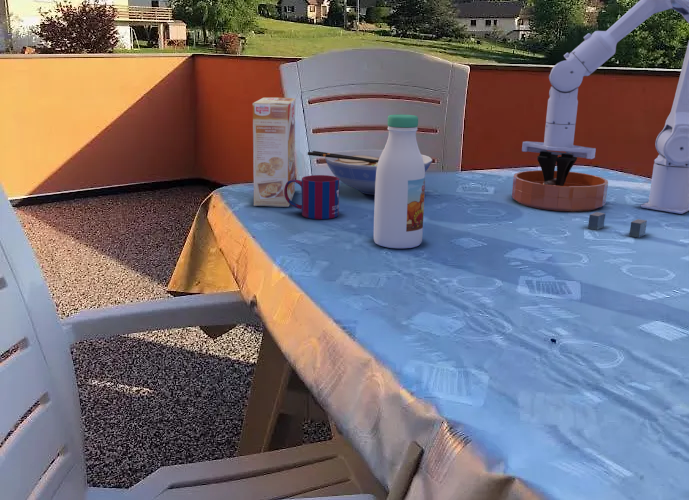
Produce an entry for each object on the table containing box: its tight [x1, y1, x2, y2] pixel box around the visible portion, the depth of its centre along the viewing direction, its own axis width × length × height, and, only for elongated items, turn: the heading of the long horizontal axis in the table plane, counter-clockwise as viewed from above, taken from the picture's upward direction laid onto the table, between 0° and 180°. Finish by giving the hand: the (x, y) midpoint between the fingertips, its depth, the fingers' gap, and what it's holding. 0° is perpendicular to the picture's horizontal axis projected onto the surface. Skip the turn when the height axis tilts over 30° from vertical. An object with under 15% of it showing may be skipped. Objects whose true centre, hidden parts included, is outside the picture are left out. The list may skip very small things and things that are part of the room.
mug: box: [284, 174, 340, 220], centre depth 129 cm, size 7×10×7 cm
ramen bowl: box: [307, 149, 433, 196], centre depth 150 cm, size 25×23×8 cm
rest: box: [587, 211, 648, 239], centre depth 122 cm, size 9×3×2 cm, turn 48°
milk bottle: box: [373, 114, 426, 249], centre depth 110 cm, size 8×8×20 cm
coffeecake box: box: [252, 97, 296, 208], centre depth 139 cm, size 15×7×20 cm, turn 179°
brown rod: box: [543, 178, 566, 185], centre depth 144 cm, size 10×2×2 cm, turn 142°
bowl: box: [511, 169, 609, 212], centre depth 144 cm, size 18×18×5 cm
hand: (553, 190), depth 145 cm, fingers closed on brown rod, 1 cm apart
